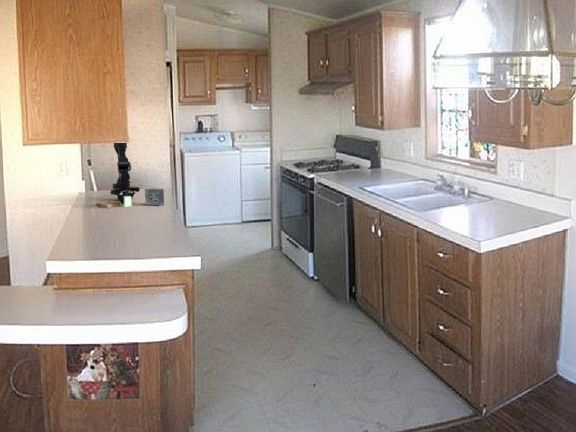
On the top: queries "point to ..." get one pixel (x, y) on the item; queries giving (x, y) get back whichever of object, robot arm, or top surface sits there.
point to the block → (126, 201)
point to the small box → (154, 197)
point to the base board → (108, 204)
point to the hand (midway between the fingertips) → (126, 204)
